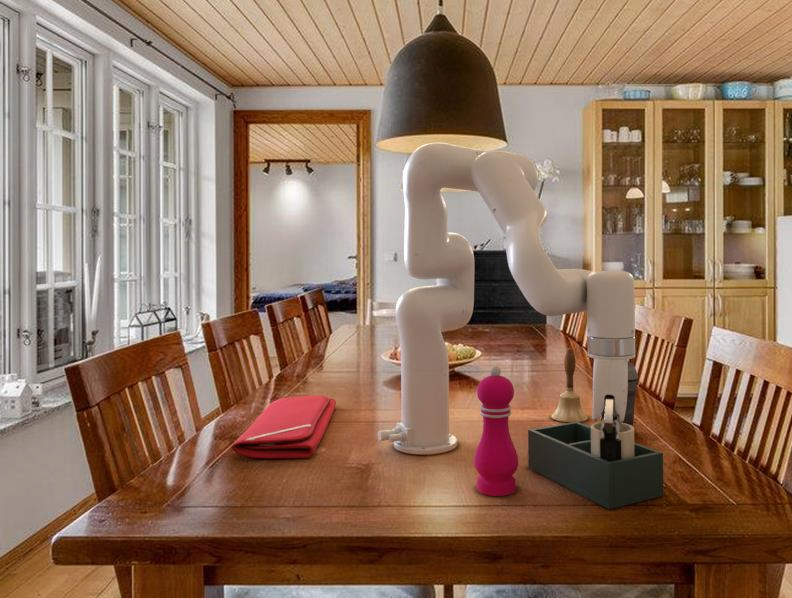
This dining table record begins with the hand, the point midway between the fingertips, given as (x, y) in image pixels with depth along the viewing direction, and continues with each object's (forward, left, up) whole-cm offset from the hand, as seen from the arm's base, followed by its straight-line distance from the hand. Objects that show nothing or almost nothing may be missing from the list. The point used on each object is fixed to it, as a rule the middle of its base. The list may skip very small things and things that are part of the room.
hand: (612, 457), depth 106 cm
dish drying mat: (-37, +61, -6) cm, 72 cm away
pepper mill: (-16, +10, -6) cm, 20 cm away
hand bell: (+22, +40, -6) cm, 46 cm away
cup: (0, 0, -4) cm, 4 cm away
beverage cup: (+24, +25, -6) cm, 35 cm away
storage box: (0, +5, -5) cm, 8 cm away
